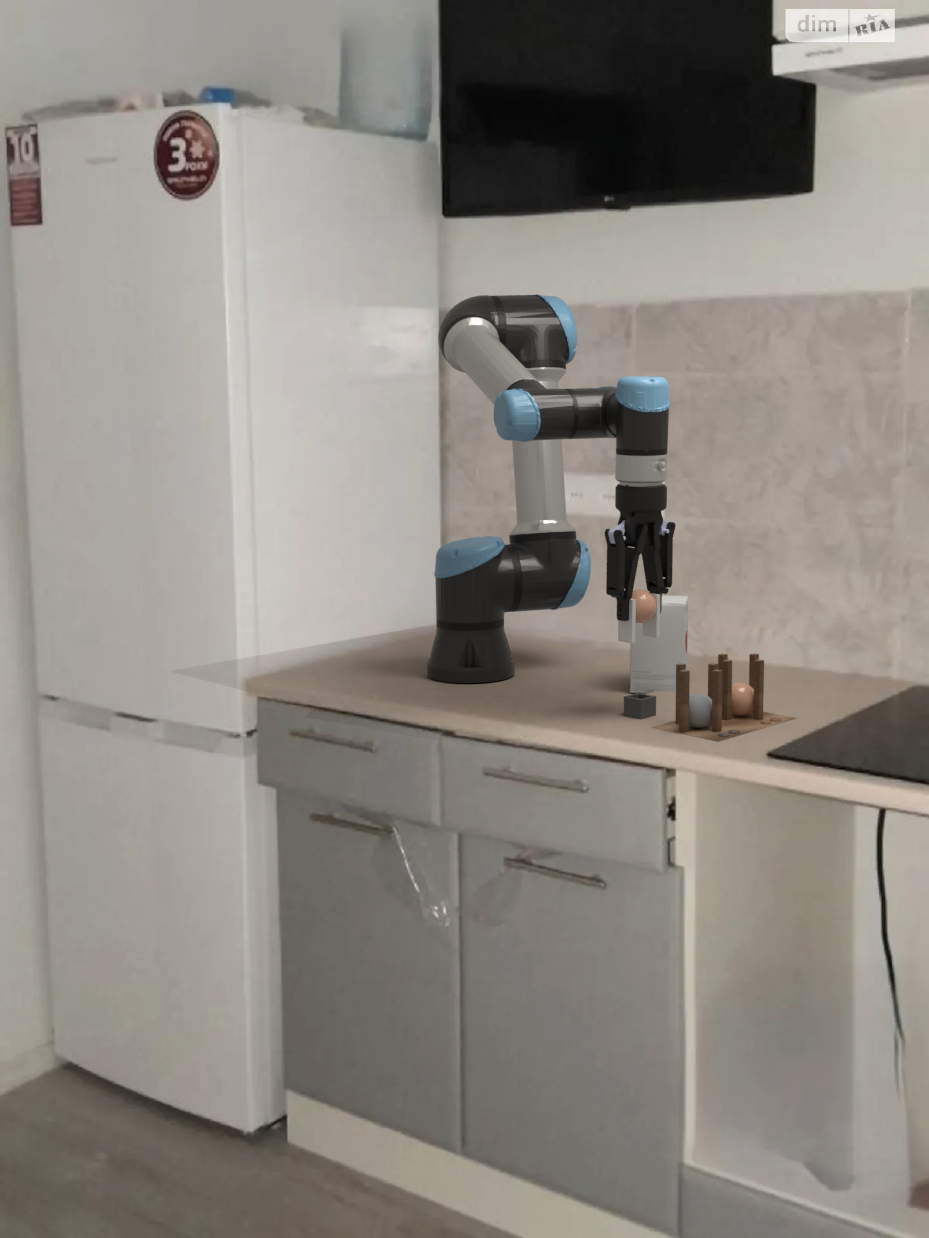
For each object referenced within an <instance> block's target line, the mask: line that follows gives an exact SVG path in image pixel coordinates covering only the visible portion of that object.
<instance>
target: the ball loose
mask: <svg viewBox="0 0 929 1238" xmlns="http://www.w3.org/2000/svg"><path fill="white" fill-rule="evenodd" d="M631 599H636V623H645V622H647V621H649V620H650V619H651V618H652V617H653V616H654V614H655V612H656V607H657V606H656V601H655V599H654V597H653V596H652V595H651V594H650V593H649V591H648V590H645V589H635V590H634V589H633V593H632V598H631Z"/></svg>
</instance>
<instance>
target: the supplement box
mask: <svg viewBox="0 0 929 1238" xmlns="http://www.w3.org/2000/svg"><path fill="white" fill-rule="evenodd" d="M661 607H662V610H661V614H660V637H658V638H654V637H649V636H643V623H636V626H635V643H629V644H630V646H629V647H630V650H629V653H630V655H629V657H630V658H629V662H630V663H629V665H630V666H629V668H630V669H629V693H630V694H637V693H641V694H646V695H648V694H651V693H653V692H665V693H666V692H670V693H671V692H672V693H676V664H679V663H682V664H686V670H688V643H689V642H688V640H689V639H688V635H689V633H688V628H689V627H688V626H689V624H688V623H689V596H688V595H662V606H661Z"/></svg>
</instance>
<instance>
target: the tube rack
mask: <svg viewBox="0 0 929 1238" xmlns="http://www.w3.org/2000/svg"><path fill="white" fill-rule="evenodd" d="M748 656H749V660H748V661H749V663H748V664H749V665H748V666H749V668H748V670H749V671H748V685H750V686H751V687H752V688H753V689H754V710H753V711H752V712H751V713H750V714H748V715H745V716H736V715H733V714H731V707H732V684H733V660H732V659H729V657H728V653H718V655H717V659H718V660H717V663H716V662H715V663H714V662H711V663H708V665H707V667H708V668H707V696H708V697H710V698H711V699H712V722H711V723H710V724H709V725H708V726H706V727H703V728H695V727H692V726H690V725H689V696H690V678H691V677H690V670H688V669H687V670H686V664H682V663H679V664H676V692H675V720H673V721H670V722H665V723H662V724H659V725H655V726H652V727H651V728H653V729H656V730H661V731H666V732H670V733H676V734H679V735H680V734H681V735H685V736H690V737H693V738H699V739H704V740H708V741H714V742H717V743H718V742H722V741H726V740H729V739H732V738H736V737H739V736H742V735H747V734H748V733H749V734H750V733H753V732H756V731H759V730H762V729H766V728H769V727H772V726H776V725H779V724H782V723H786V722H789V721H793V720H796V719H798V718H797V717H792V716H787V715H784V714H783V715H782V714H777V713H772V712H767V711H764V691H765V690H764V688H765V687H764V685H765V683H764V681H765V673H764V672H765V659H760V654H759V653H755V652H753V653H749V655H748Z"/></svg>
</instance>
